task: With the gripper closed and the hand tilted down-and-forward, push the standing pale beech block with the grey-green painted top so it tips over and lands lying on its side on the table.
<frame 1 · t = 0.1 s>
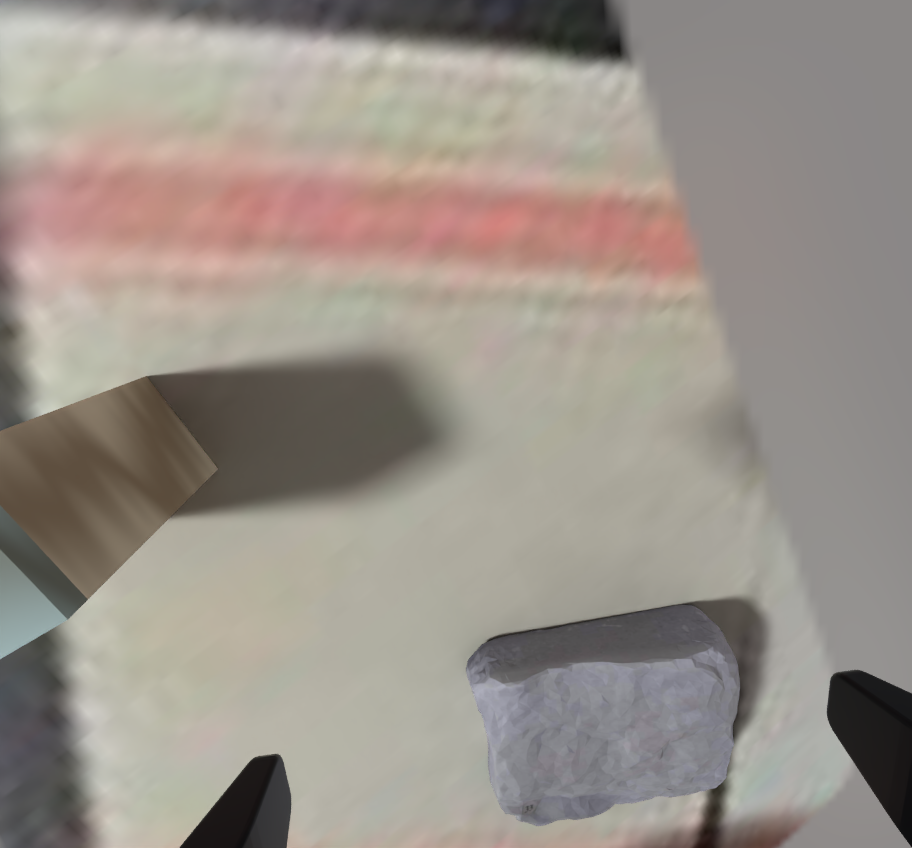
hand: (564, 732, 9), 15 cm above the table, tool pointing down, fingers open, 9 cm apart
stone block: (589, 693, 27), on the table
beech block: (136, 451, 21), on the table
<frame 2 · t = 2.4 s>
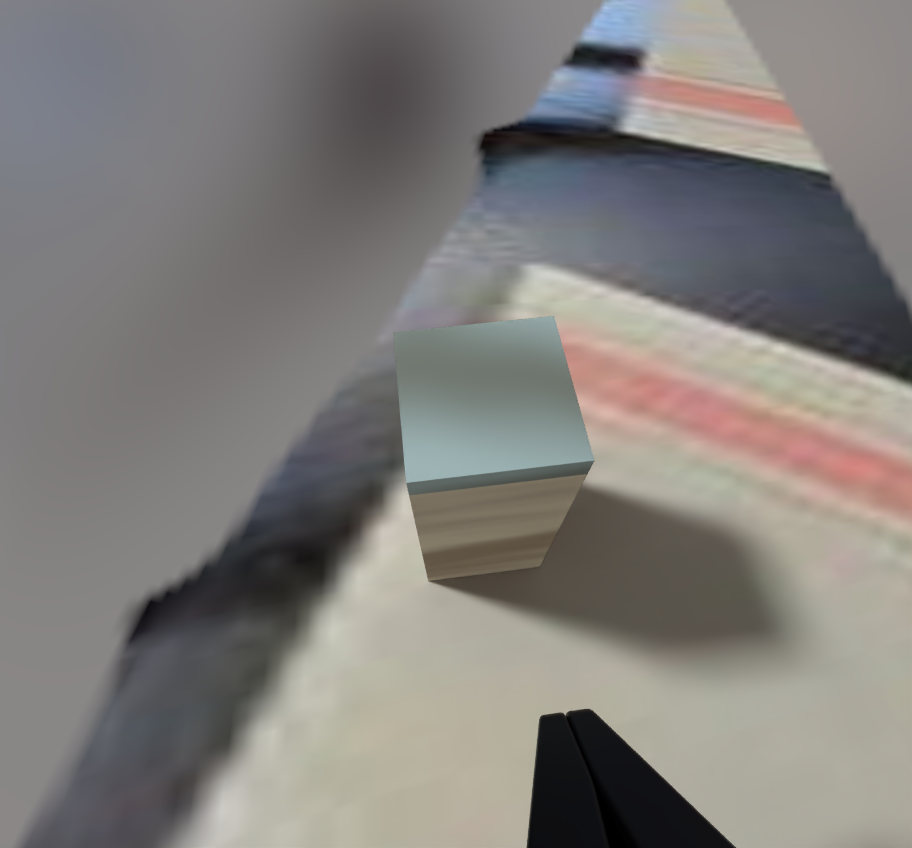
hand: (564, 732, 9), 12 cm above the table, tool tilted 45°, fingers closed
beech block: (476, 520, 22), on the table
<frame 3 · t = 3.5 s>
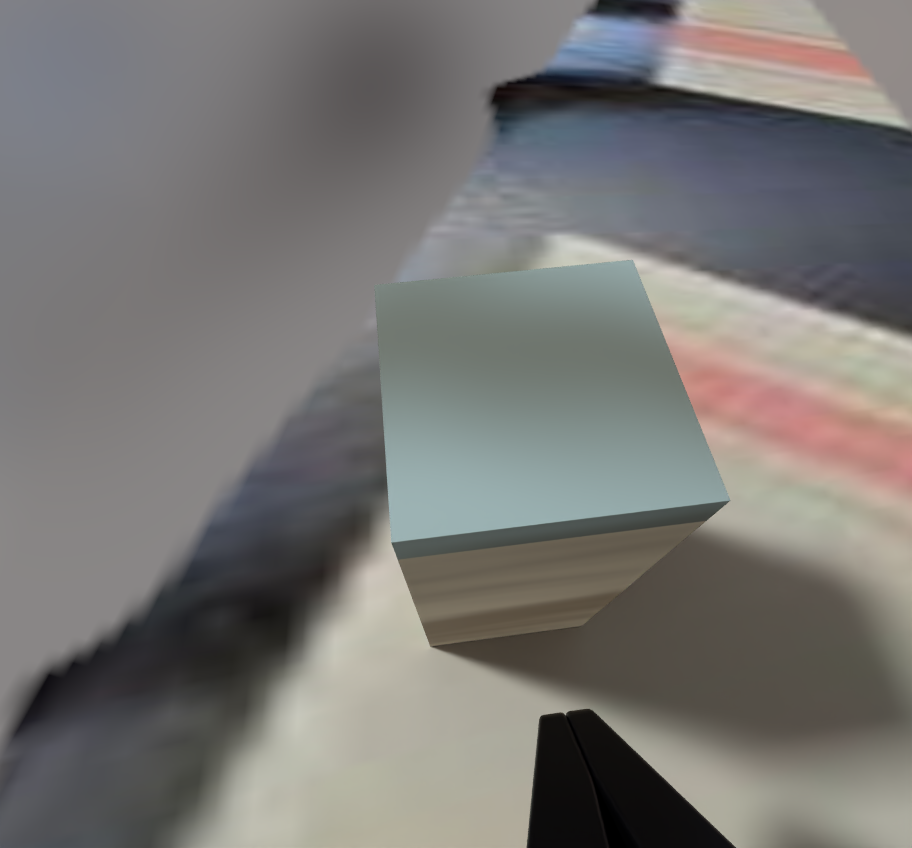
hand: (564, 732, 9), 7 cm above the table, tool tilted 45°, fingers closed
beech block: (494, 560, 17), on the table
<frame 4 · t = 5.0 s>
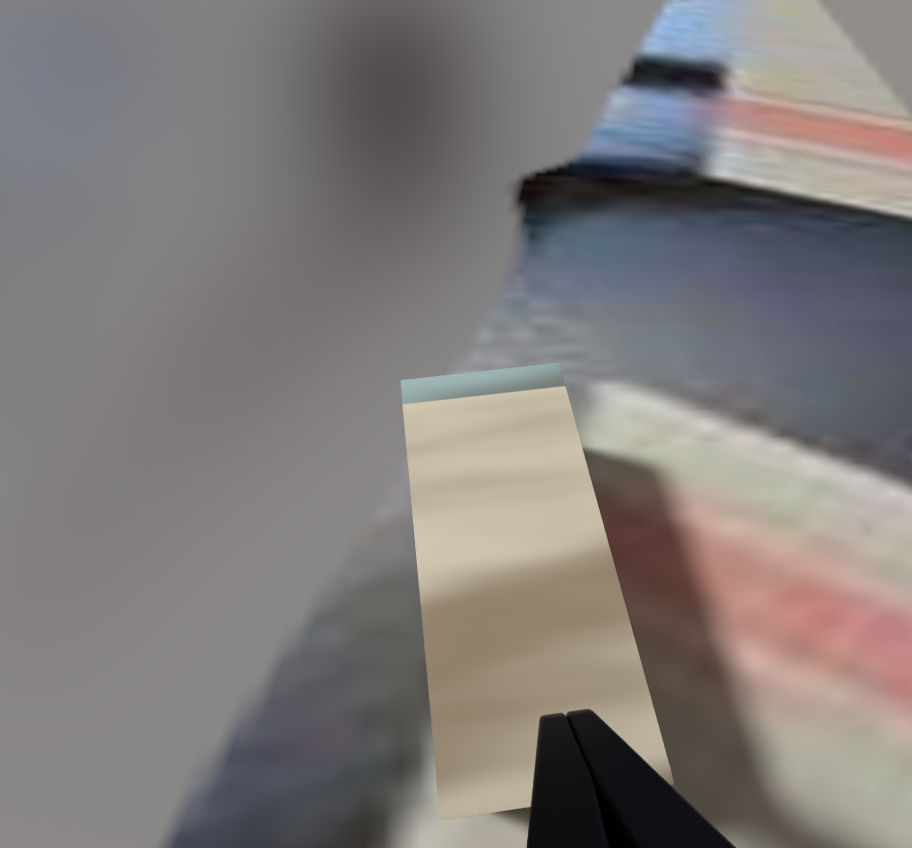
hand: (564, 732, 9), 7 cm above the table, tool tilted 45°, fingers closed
beech block: (543, 790, 12), point 2 cm above the table, tilted 90°
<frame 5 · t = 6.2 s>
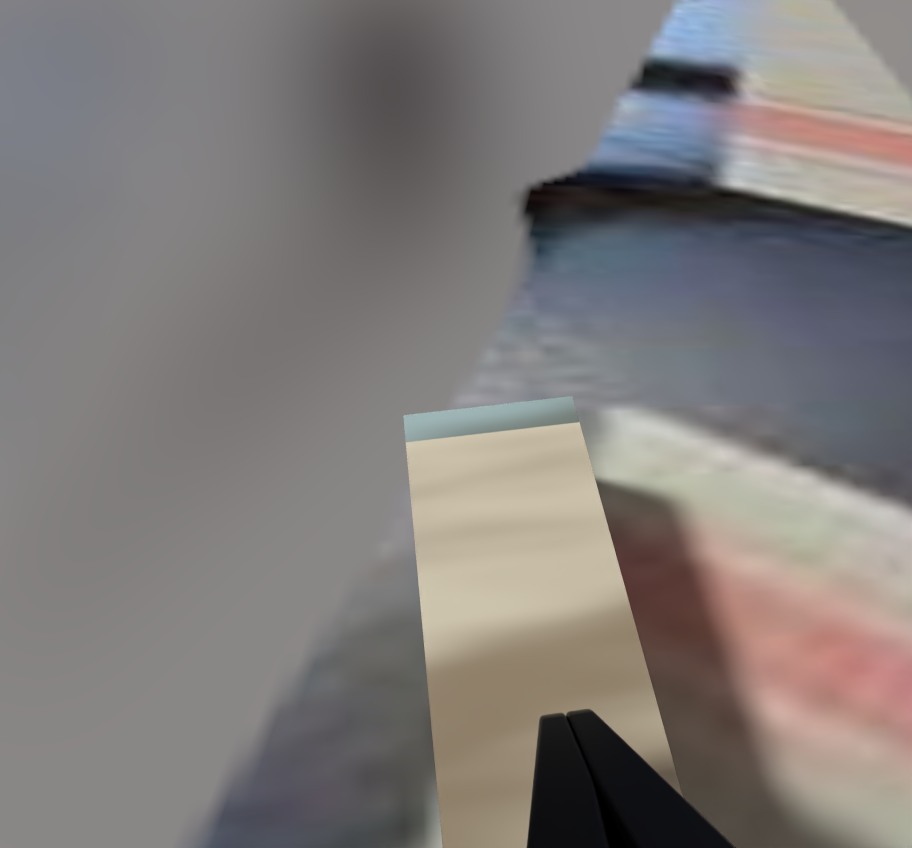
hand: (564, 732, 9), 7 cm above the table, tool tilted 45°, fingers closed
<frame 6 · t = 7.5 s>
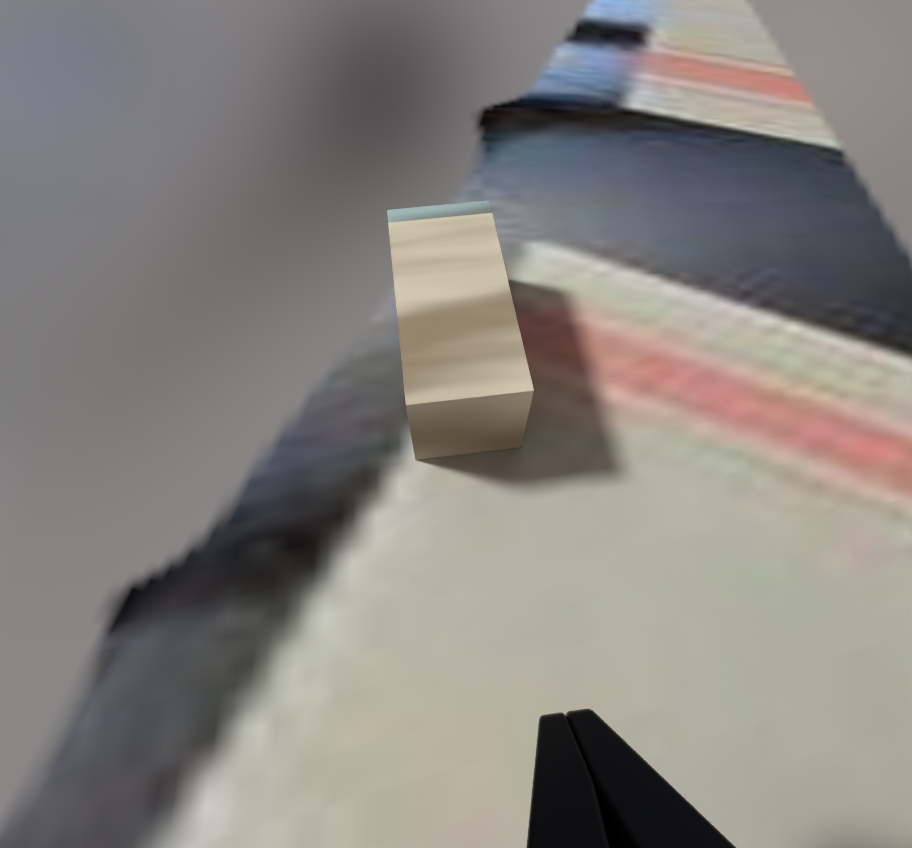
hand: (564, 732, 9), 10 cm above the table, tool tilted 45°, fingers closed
beech block: (469, 428, 20), point 2 cm above the table, tilted 90°
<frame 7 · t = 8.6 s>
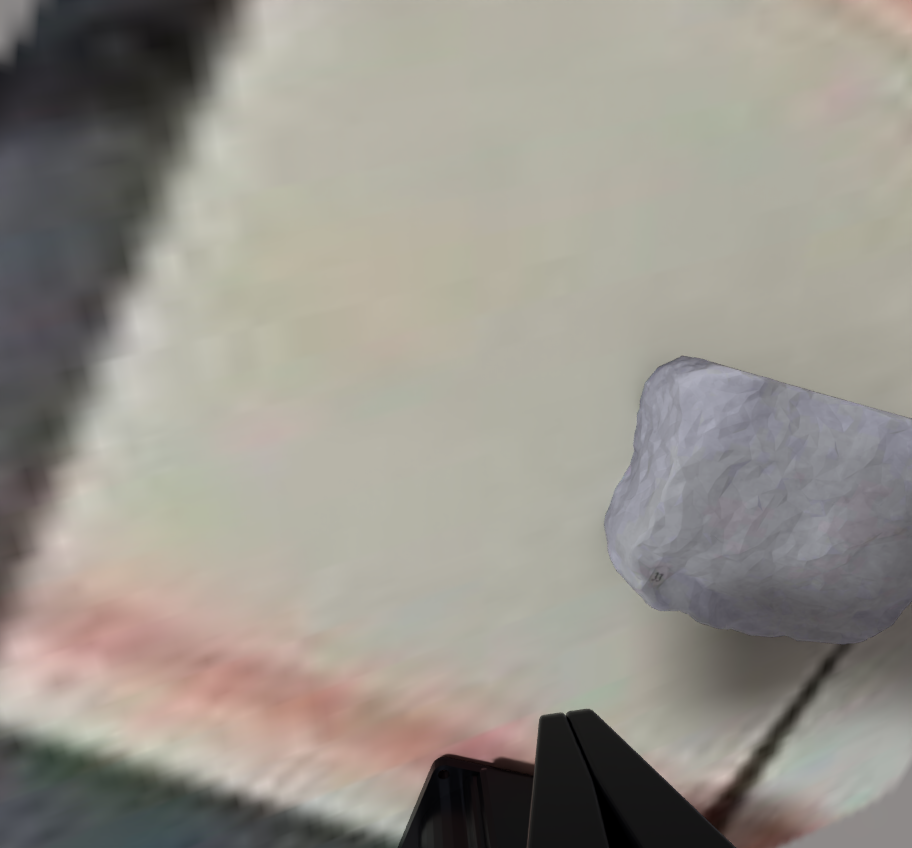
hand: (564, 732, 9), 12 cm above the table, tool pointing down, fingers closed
stone block: (739, 495, 22), on the table
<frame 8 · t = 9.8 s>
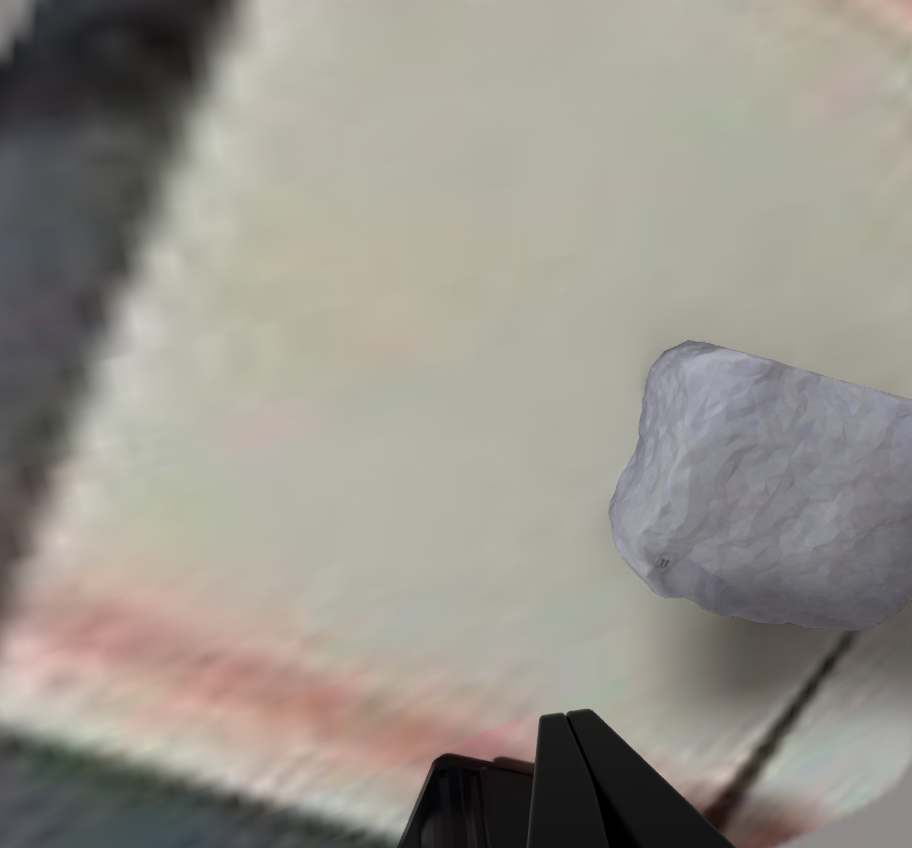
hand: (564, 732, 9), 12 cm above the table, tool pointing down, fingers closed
stone block: (745, 482, 22), on the table
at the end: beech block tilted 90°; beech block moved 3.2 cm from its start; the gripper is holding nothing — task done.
